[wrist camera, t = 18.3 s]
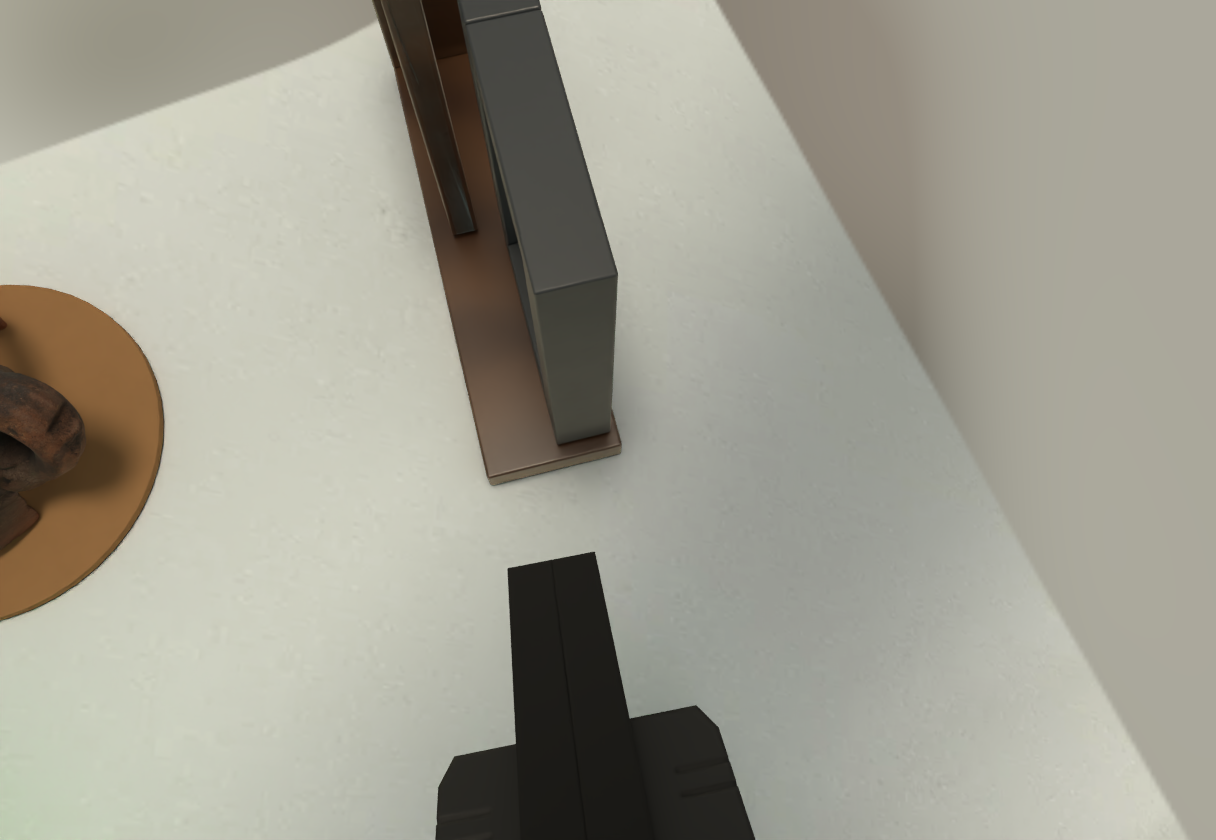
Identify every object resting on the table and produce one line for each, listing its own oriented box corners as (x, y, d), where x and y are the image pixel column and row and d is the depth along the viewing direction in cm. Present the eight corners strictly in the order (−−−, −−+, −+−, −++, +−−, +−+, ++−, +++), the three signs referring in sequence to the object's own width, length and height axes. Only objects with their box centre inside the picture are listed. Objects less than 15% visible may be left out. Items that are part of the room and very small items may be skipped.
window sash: (611, 432, 34) (618, 274, 22) (556, 445, 34) (533, 294, 21) (553, 220, 36) (531, -31, 24) (503, 231, 36) (453, -16, 24)
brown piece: (621, 453, 35) (638, 274, 21) (491, 486, 35) (413, 326, 20) (511, 47, 41) (461, -328, 26) (396, 71, 40) (279, -297, 25)
